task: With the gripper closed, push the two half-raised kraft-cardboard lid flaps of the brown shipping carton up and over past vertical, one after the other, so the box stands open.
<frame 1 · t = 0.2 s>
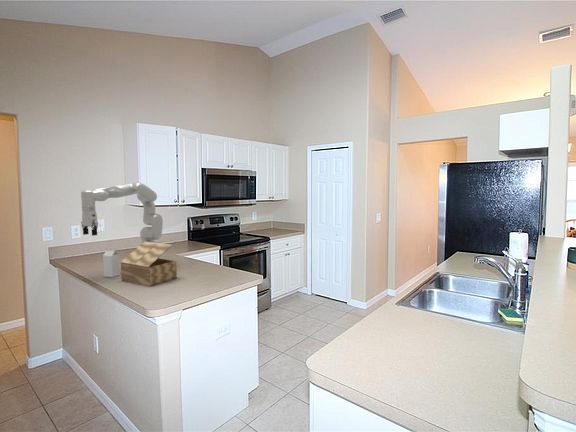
hand: (90, 234, 211), 31 cm above the worktop, tool pointing down, fingers open, 9 cm apart
flap b: (153, 254, 210), point 18 cm above the worktop, hinge at 30.0°
carton: (149, 279, 217), on the worktop
milk carton: (111, 276, 225), on the worktop
flap a: (139, 252, 217), point 18 cm above the worktop, hinge at 30.0°
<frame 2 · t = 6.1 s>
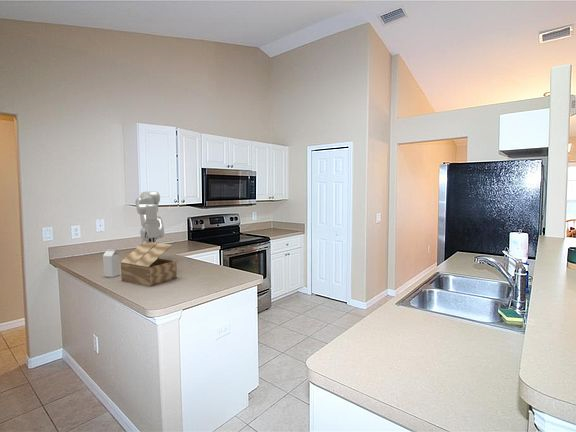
hand: (152, 247, 228), 20 cm above the worktop, tool pointing down, fingers closed
flap a: (139, 252, 217), point 18 cm above the worktop, hinge at 31.0°, touching gripper
everything else where it was.
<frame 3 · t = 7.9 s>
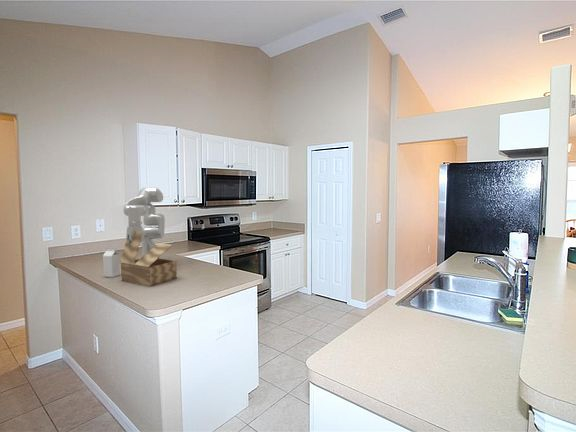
hand: (135, 250, 216), 19 cm above the worktop, tool pointing down, fingers closed
flap a: (131, 247, 211), point 23 cm above the worktop, hinge at 70.6°, touching gripper
everything else where it was.
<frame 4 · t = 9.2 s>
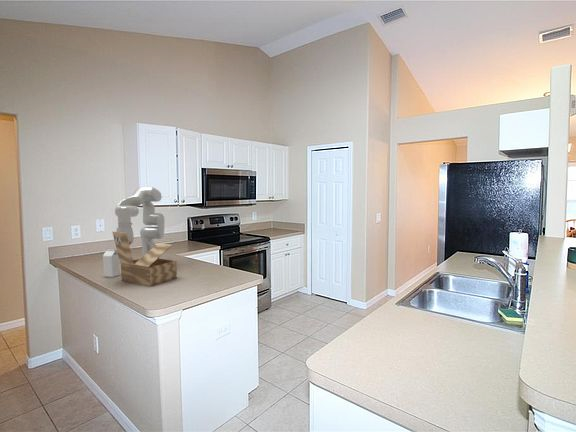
hand: (125, 252, 210), 19 cm above the worktop, tool pointing down, fingers closed
flap a: (123, 248, 206), point 23 cm above the worktop, hinge at 102.0°, touching gripper
everything else where it was.
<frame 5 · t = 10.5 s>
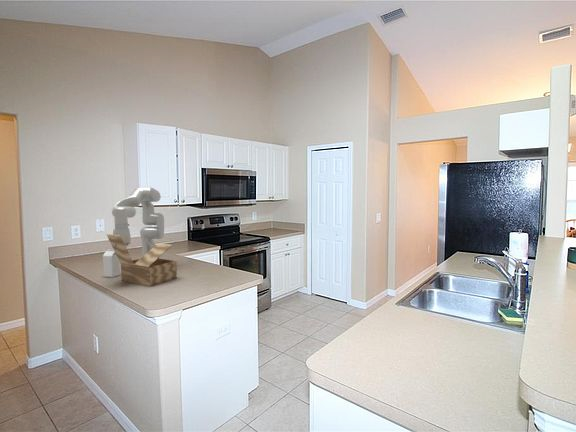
hand: (122, 254, 208), 19 cm above the worktop, tool pointing down, fingers closed
flap a: (120, 249, 204), point 22 cm above the worktop, hinge at 112.7°, touching gripper
everything else where it was.
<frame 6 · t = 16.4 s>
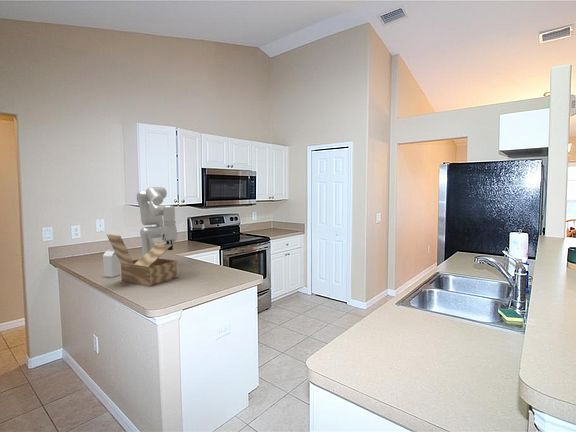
hand: (170, 249, 220), 19 cm above the worktop, tool pointing down, fingers closed
flap b: (153, 254, 210), point 18 cm above the worktop, hinge at 30.3°, touching gripper
flap a: (120, 249, 204), point 22 cm above the worktop, hinge at 112.8°
everything else where it was.
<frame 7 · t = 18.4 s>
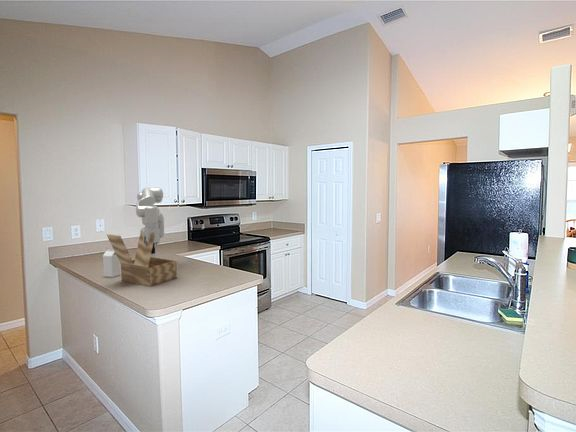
hand: (152, 253, 207), 19 cm above the worktop, tool pointing down, fingers closed
flap b: (144, 248, 204), point 23 cm above the worktop, hinge at 74.0°, touching gripper
everything else where it was.
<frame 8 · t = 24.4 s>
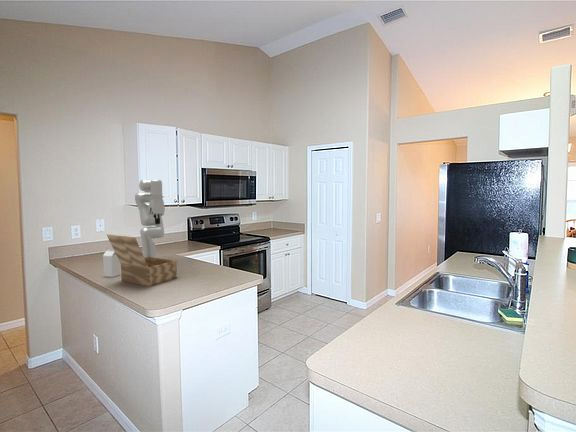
hand: (157, 223, 222), 37 cm above the worktop, tool pointing down, fingers closed
flap b: (134, 251, 198), point 22 cm above the worktop, hinge at 112.5°
everything else where it was.
at the end: flap a at +113° (first picture: +30°); flap b at +112° (first picture: +30°) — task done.
